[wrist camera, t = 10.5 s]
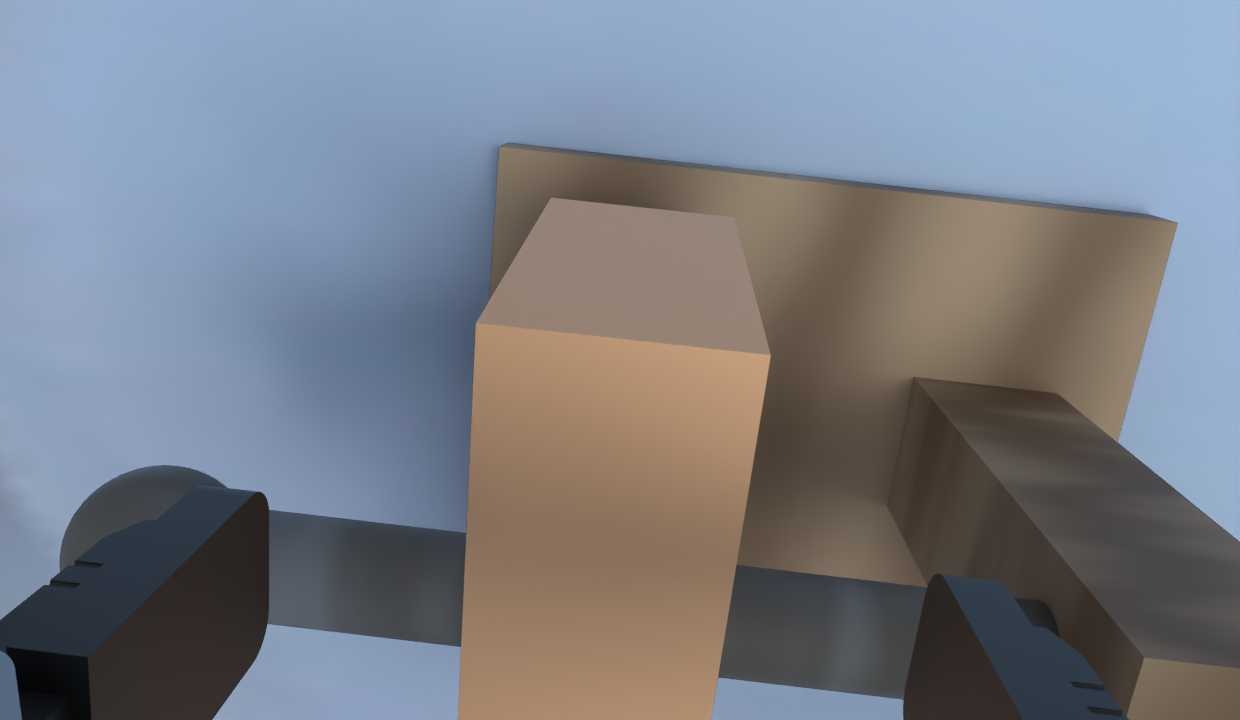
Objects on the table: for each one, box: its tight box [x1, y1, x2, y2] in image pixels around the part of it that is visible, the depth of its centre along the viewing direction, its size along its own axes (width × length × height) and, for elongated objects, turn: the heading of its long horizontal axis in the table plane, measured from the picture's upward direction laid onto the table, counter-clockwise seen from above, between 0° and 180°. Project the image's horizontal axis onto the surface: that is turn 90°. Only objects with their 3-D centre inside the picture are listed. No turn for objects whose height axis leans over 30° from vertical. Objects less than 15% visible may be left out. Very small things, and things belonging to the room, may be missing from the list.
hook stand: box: [60, 143, 1240, 720], centre depth 22 cm, size 24×14×15 cm, turn 84°
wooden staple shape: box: [458, 198, 771, 720], centre depth 19 cm, size 12×4×8 cm, turn 174°
